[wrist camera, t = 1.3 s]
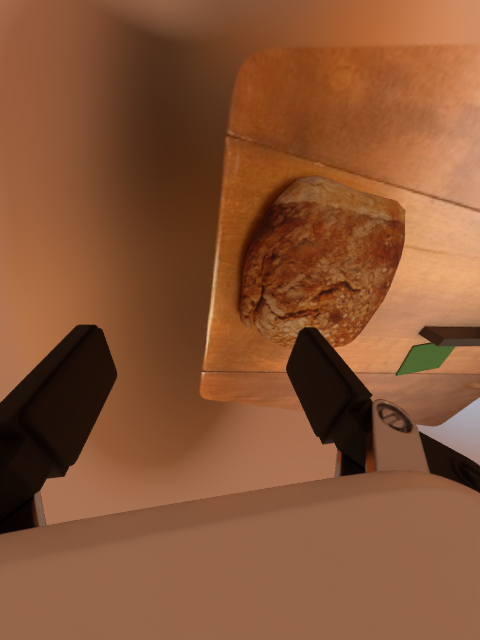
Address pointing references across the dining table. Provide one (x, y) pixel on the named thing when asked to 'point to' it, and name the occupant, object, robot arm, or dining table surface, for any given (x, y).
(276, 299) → the bread
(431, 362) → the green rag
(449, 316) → the dining table surface
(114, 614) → the robot arm
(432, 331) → the corner stop
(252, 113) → the dining table surface
